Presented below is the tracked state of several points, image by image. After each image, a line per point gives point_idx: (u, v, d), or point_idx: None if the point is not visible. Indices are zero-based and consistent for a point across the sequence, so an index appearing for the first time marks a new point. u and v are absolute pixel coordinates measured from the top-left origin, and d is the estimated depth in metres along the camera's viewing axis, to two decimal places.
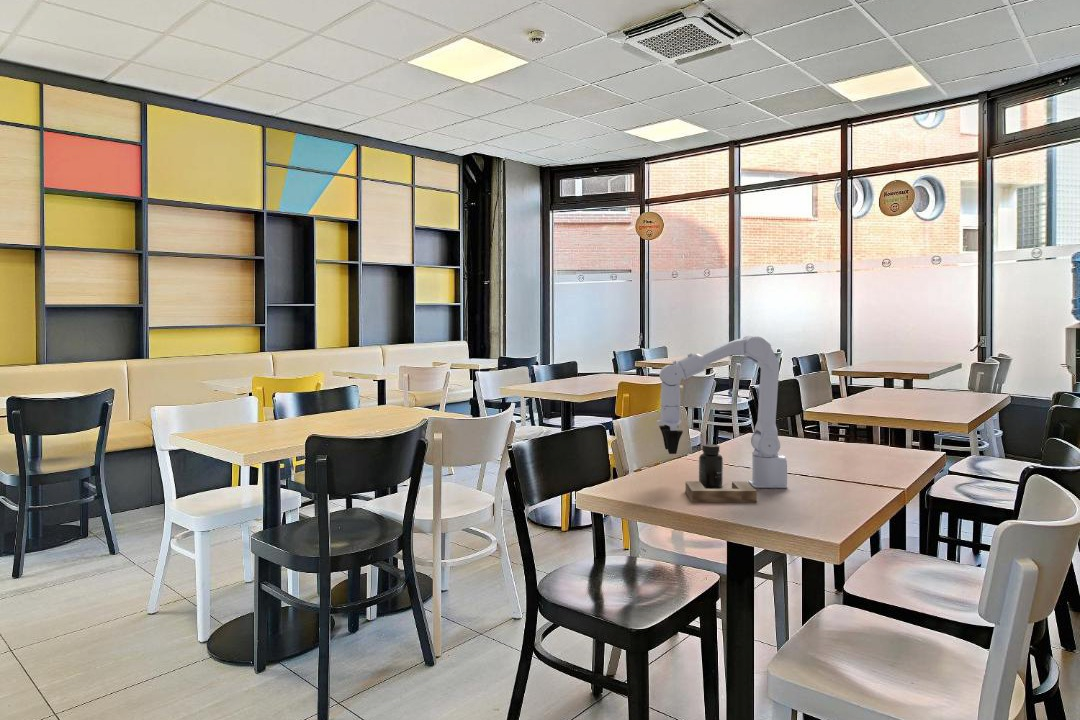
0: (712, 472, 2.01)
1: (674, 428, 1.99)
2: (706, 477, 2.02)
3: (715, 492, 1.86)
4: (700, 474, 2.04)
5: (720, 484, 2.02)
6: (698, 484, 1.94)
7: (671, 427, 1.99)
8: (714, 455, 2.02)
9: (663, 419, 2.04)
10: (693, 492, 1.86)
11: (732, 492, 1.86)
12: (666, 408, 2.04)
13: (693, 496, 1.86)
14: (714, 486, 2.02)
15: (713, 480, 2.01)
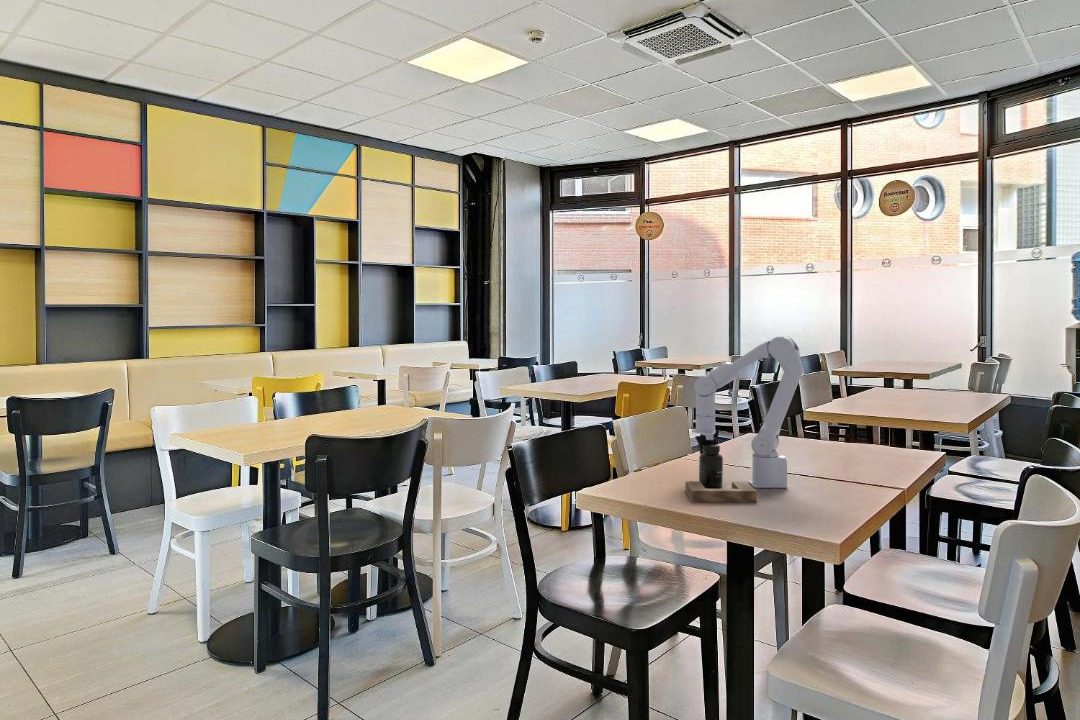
0: (713, 472, 2.01)
1: (710, 438, 2.06)
2: (706, 476, 2.02)
3: (715, 492, 1.86)
4: (700, 474, 2.04)
5: (720, 484, 2.02)
6: (698, 484, 1.94)
7: (707, 436, 2.06)
8: (715, 455, 2.02)
9: (698, 428, 2.11)
10: (693, 492, 1.86)
11: (732, 492, 1.86)
12: (701, 418, 2.10)
13: (693, 496, 1.86)
14: (714, 486, 2.02)
15: (714, 480, 2.02)
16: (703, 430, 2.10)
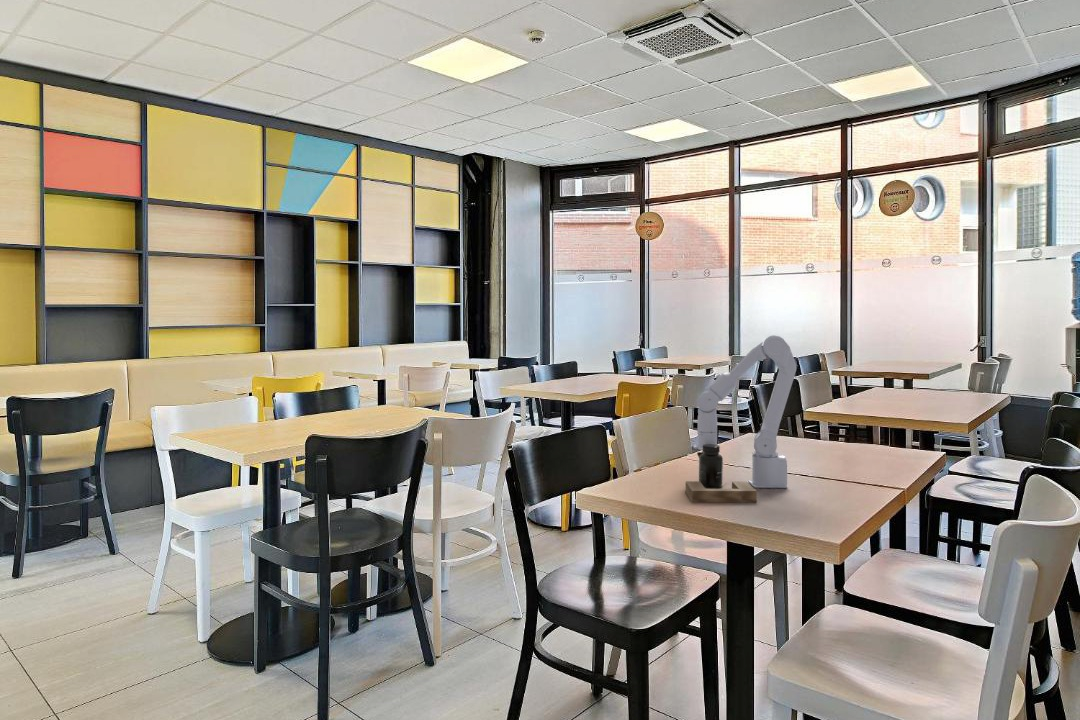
0: (713, 473, 2.01)
1: None
2: (707, 477, 2.02)
3: (715, 492, 1.86)
4: (700, 474, 2.04)
5: (720, 484, 2.02)
6: (698, 484, 1.94)
7: None
8: (715, 455, 2.02)
9: (700, 445, 2.08)
10: (693, 492, 1.86)
11: (732, 492, 1.86)
12: (703, 434, 2.07)
13: (693, 496, 1.86)
14: (714, 486, 2.02)
15: (714, 480, 2.01)
16: None
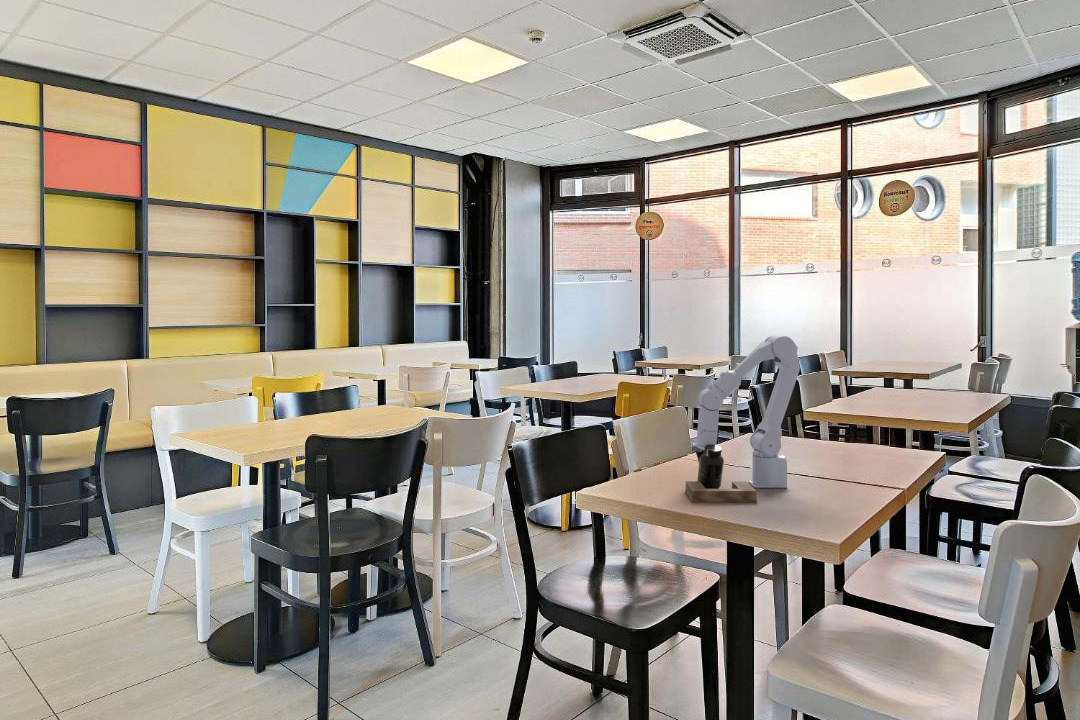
0: (715, 476, 1.98)
1: None
2: (709, 480, 1.98)
3: (715, 492, 1.86)
4: (701, 476, 2.00)
5: (720, 485, 2.01)
6: (698, 484, 1.94)
7: (707, 452, 1.98)
8: (718, 459, 1.97)
9: (699, 443, 2.03)
10: (693, 492, 1.86)
11: (732, 492, 1.86)
12: (703, 432, 2.02)
13: (693, 496, 1.86)
14: (715, 488, 1.99)
15: (715, 483, 1.99)
16: (704, 445, 2.02)
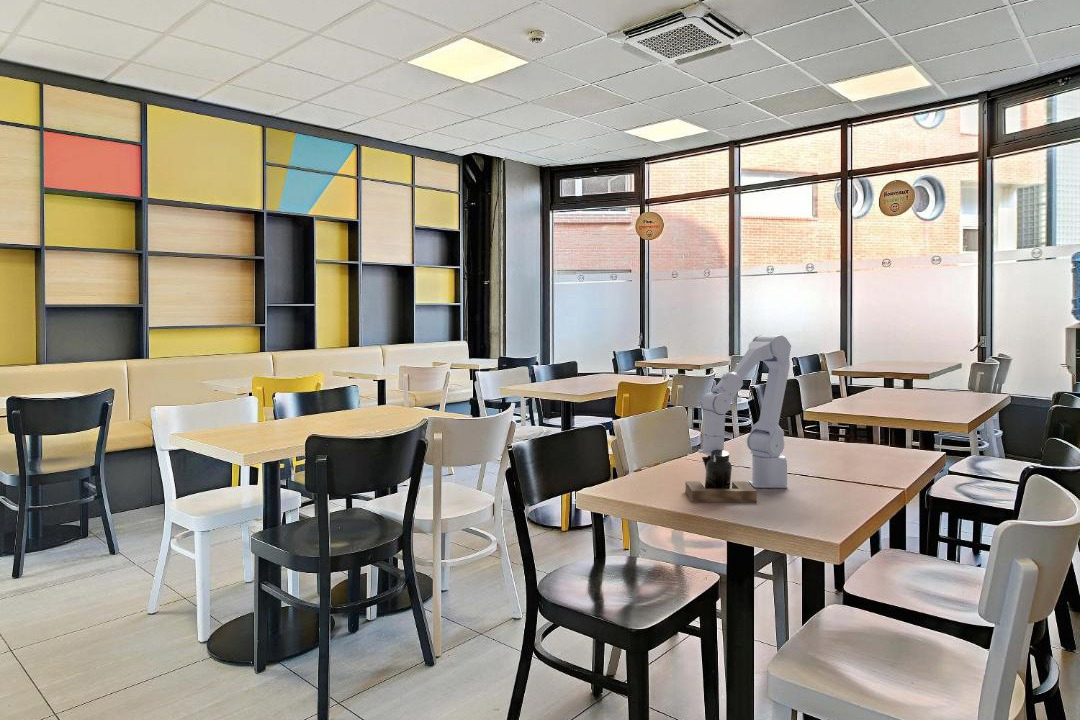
0: (723, 482, 1.90)
1: None
2: (717, 487, 1.91)
3: (715, 492, 1.86)
4: (709, 483, 1.92)
5: None
6: (698, 484, 1.94)
7: (714, 458, 1.90)
8: (725, 464, 1.90)
9: (705, 449, 1.96)
10: (693, 492, 1.86)
11: (732, 492, 1.86)
12: (709, 438, 1.95)
13: (693, 496, 1.86)
14: None
15: None
16: (711, 451, 1.95)
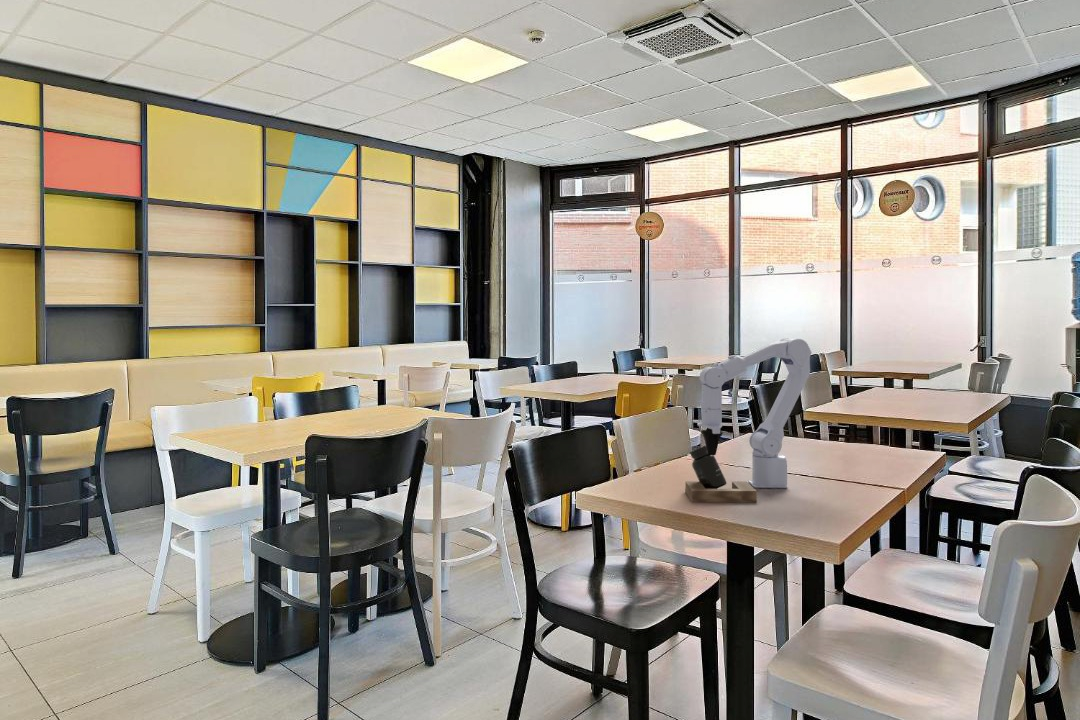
0: (712, 472, 1.93)
1: (717, 431, 1.96)
2: (708, 479, 1.93)
3: (715, 492, 1.86)
4: (701, 480, 1.94)
5: (724, 481, 1.93)
6: (698, 484, 1.94)
7: (713, 430, 1.96)
8: (705, 455, 1.95)
9: (704, 422, 2.02)
10: (693, 492, 1.86)
11: (732, 492, 1.86)
12: (707, 411, 2.01)
13: (693, 496, 1.86)
14: (720, 485, 1.92)
15: (716, 479, 1.92)
16: (709, 424, 2.01)
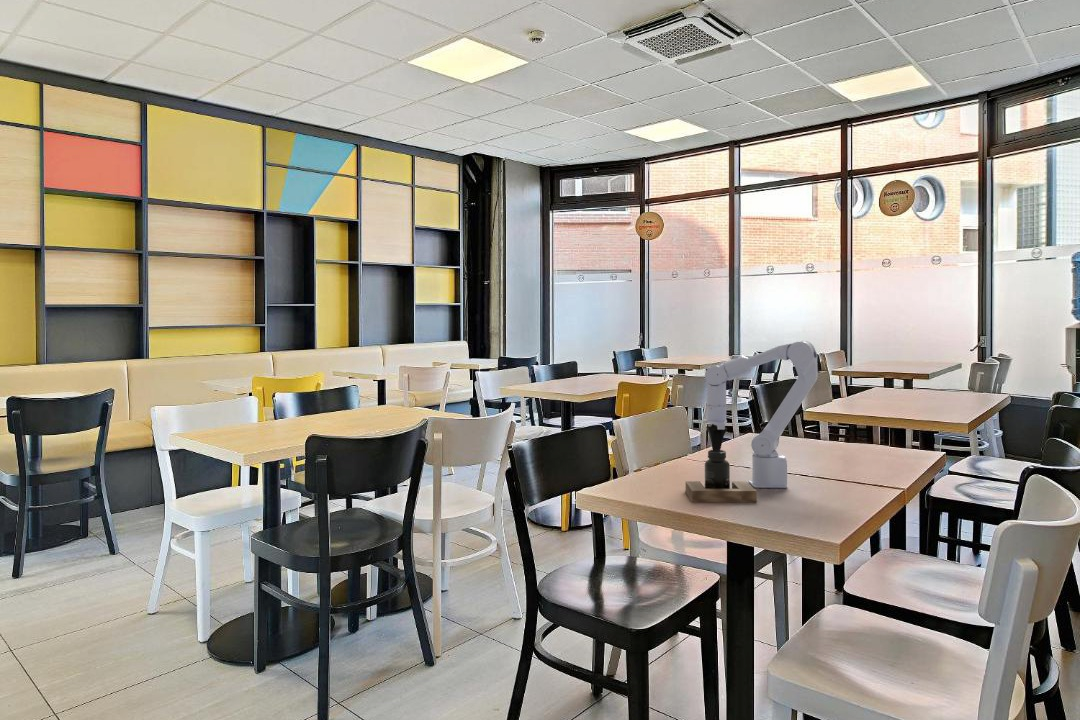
0: (722, 480, 1.91)
1: (721, 427, 2.04)
2: (716, 485, 1.92)
3: (715, 492, 1.86)
4: (708, 482, 1.93)
5: None
6: (698, 484, 1.94)
7: (718, 426, 2.04)
8: (723, 461, 1.92)
9: (709, 418, 2.09)
10: (693, 492, 1.86)
11: (732, 492, 1.86)
12: (712, 408, 2.08)
13: (693, 496, 1.86)
14: None
15: (723, 488, 1.92)
16: (714, 420, 2.08)
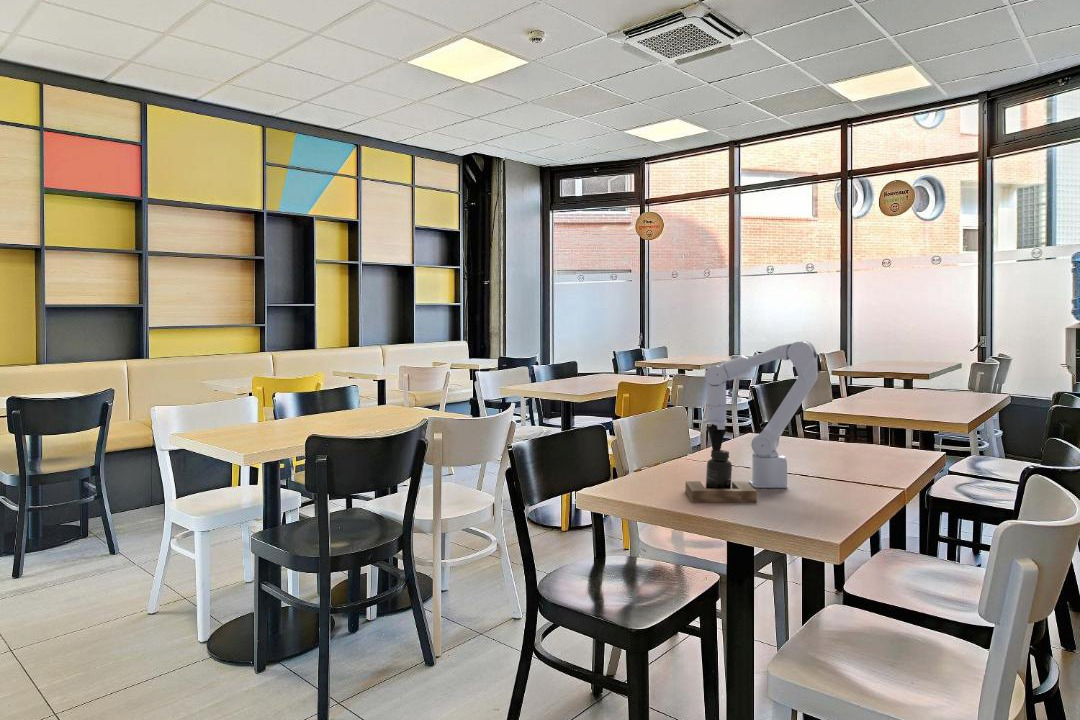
0: (725, 479, 1.92)
1: (721, 427, 2.04)
2: (719, 484, 1.92)
3: (715, 492, 1.86)
4: (710, 481, 1.93)
5: None
6: (698, 484, 1.94)
7: (718, 426, 2.04)
8: (726, 461, 1.93)
9: (709, 418, 2.09)
10: (693, 492, 1.86)
11: (732, 492, 1.86)
12: (712, 408, 2.08)
13: (693, 496, 1.86)
14: None
15: (726, 487, 1.92)
16: (714, 420, 2.08)
